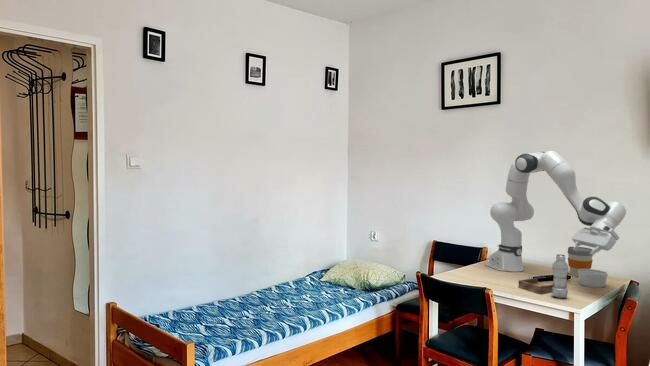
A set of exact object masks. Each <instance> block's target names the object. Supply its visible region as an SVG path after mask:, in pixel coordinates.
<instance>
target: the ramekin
mask: <svg viewBox="0 0 650 366" xmlns="http://www.w3.org/2000/svg"><path fill="white" fill-rule="evenodd" d="M578 273H579V277H578V282H579V284H580V285H582V286H585V287H589V288H599V289H600V288H604V287H605V286H606V285H607V280H608V279H607V278H608V275H609V274H608V272H606V271H604V270H599V269H594V268H593V269H592V268H590V269H579V270H578Z"/></svg>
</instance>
